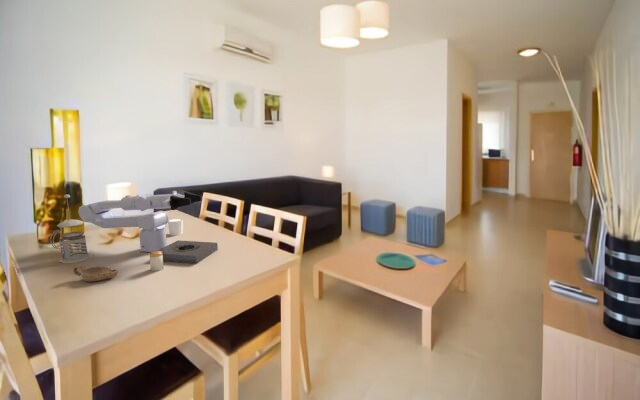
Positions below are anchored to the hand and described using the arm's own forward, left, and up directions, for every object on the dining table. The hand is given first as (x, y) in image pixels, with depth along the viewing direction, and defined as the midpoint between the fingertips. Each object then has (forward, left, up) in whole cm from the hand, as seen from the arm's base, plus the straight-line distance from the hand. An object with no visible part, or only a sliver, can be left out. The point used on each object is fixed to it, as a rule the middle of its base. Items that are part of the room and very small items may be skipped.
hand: (195, 199), depth 125 cm
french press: (-43, -16, -22) cm, 51 cm away
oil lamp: (-19, -30, -22) cm, 42 cm away
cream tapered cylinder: (-25, +22, -22) cm, 40 cm away
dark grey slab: (-3, -4, -22) cm, 22 cm away
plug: (-5, -19, -22) cm, 29 cm away
